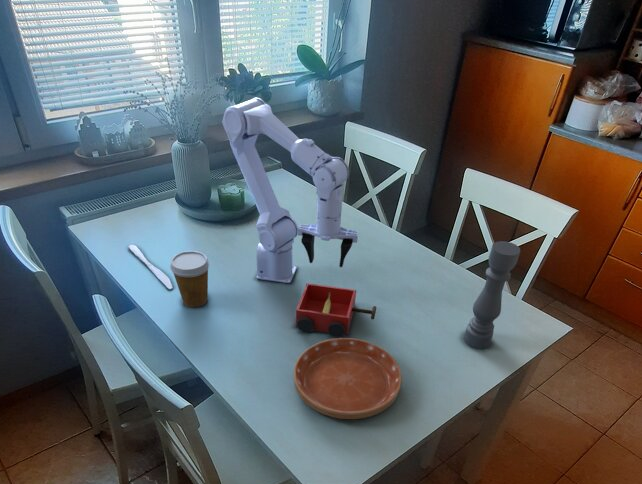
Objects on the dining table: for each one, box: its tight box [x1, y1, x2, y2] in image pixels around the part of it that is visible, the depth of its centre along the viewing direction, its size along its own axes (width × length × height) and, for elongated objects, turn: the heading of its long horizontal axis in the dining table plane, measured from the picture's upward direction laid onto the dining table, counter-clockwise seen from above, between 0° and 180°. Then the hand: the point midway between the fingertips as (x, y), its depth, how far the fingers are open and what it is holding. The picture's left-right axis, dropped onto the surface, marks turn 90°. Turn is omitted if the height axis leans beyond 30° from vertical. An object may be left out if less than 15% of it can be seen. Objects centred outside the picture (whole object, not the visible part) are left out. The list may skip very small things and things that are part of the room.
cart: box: [295, 282, 357, 336], centre depth 127 cm, size 13×12×5 cm
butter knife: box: [128, 244, 173, 290], centre depth 144 cm, size 1×27×3 cm
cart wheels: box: [296, 305, 377, 338], centre depth 127 cm, size 18×14×4 cm
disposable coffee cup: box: [169, 250, 210, 308], centre depth 129 cm, size 10×10×12 cm
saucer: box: [293, 337, 403, 420], centre depth 110 cm, size 23×23×4 cm
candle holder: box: [463, 240, 521, 350], centre depth 115 cm, size 6×6×25 cm
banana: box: [322, 293, 331, 314], centre depth 127 cm, size 8×2×4 cm, turn 168°
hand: (326, 263), depth 130 cm, fingers open, 7 cm apart
